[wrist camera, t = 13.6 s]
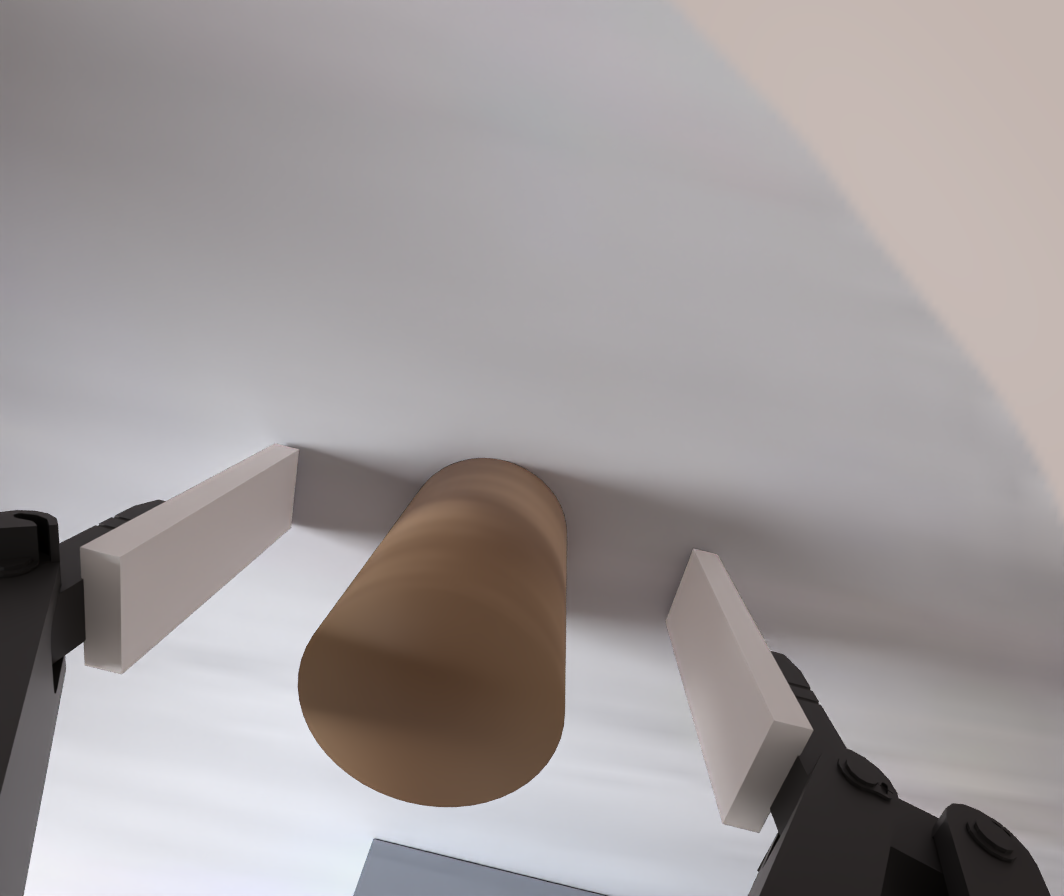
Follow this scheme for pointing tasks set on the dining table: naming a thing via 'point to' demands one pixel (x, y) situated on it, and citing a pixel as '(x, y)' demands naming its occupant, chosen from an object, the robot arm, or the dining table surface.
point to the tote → (443, 877)
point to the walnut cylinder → (449, 644)
